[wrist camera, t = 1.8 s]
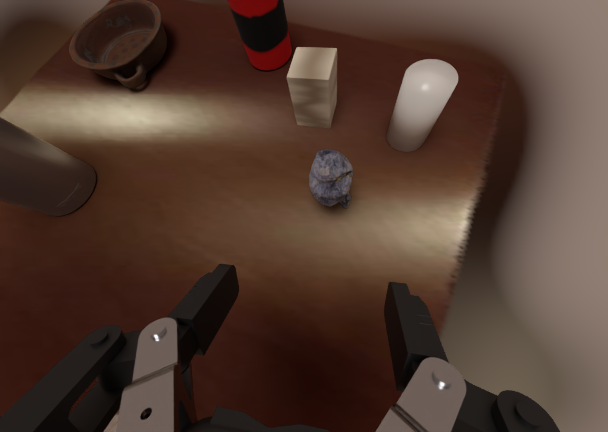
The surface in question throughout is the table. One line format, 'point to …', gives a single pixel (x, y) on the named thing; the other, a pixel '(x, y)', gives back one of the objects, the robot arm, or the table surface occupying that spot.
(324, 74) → the birch block
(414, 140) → the ceramic cylinder
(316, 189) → the fossil stone
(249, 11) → the soda can
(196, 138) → the table surface
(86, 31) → the dish
